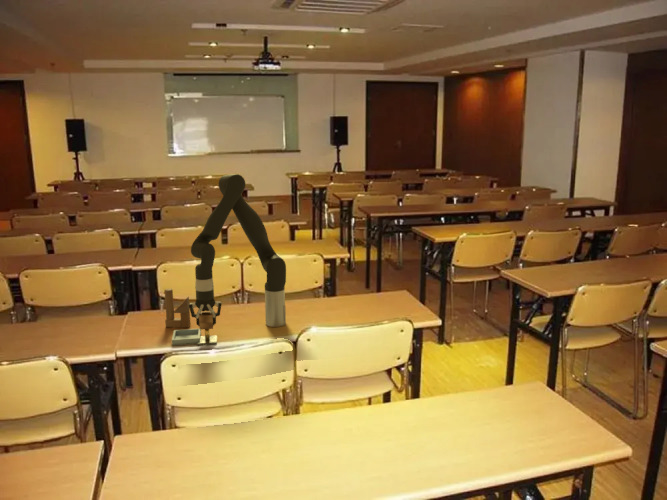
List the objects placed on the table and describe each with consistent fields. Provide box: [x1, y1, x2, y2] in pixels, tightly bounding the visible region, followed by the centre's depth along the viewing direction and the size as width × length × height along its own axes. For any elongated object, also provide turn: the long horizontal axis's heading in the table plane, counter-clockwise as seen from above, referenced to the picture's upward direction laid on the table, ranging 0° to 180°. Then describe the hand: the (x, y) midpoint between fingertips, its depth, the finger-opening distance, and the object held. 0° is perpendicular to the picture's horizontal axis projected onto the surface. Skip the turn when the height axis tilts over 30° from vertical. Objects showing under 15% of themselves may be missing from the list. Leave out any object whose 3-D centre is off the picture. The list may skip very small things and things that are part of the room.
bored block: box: [198, 311, 214, 330], centre depth 242 cm, size 6×6×6 cm
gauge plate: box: [197, 329, 218, 347], centre depth 243 cm, size 8×8×6 cm
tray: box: [171, 327, 202, 346], centre depth 246 cm, size 12×12×2 cm
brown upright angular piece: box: [164, 288, 191, 329], centre depth 260 cm, size 4×11×18 cm, turn 90°
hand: (206, 325), depth 242 cm, fingers closed on bored block, 5 cm apart
